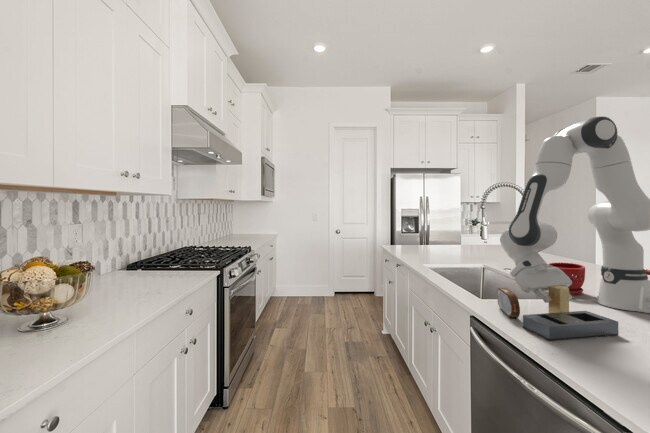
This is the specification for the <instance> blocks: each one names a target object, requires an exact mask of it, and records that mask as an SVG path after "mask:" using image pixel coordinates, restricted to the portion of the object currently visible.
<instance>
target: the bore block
mask: <svg viewBox="0 0 650 433" xmlns="http://www.w3.org/2000/svg"><path fill="white" fill-rule="evenodd" d="M522 329H525V330H527V331H528V332H531V333H533V334H534V335H537V336H539V337H541V338H543V339H545V340H547V341H548V342H554V341H555V342H556V341H564V340H577V339H578V340H579V339H590V338H591V339H592V338H603V337H605V338H606V337H616V336H619V321H617V320H616V319H615V320H614V319H611V318H608V317H605V316H603V315H600V314H597V313H593V312H591V311H588V310H578V311H577V310H576V311H569V312H560V313H549V312H547V313H532V314H522Z"/></svg>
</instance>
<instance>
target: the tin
mask: <svg viewBox="0 0 650 433" xmlns="http://www.w3.org/2000/svg"><path fill="white" fill-rule="evenodd" d="M496 296H497V297H496V298H497V304H498V307H499V309H500V311H502V312H503V313H504V314H505V315H506V316H507V317H508V318H519V317H520V314H521V307H520V306H521V305H520V302H519V299H518V296H517V295H516V293H515V292H514V291H512V290H511V289H509V288H508V287H507V286H505V287H499V288H497V290H496Z"/></svg>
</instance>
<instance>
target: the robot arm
mask: <svg viewBox="0 0 650 433" xmlns="http://www.w3.org/2000/svg"><path fill="white" fill-rule="evenodd" d="M582 153H585V154H586V155H588V157H589V165H590V168H591V174H592V177H593V181H594V185H595V188H596V189H597V191H599V192H600V193H601V194H603V195H604V196H605V197H606V199H607V201H603V202H599V203H595V204H594V205H592V206H591V207H590V208H589V210H588V212H587V218H588V221H589V222H590V223H591V224H592V225H593V226H594V227H595V229H596V231H597V234H598V236H599V239H600V241H601V247H602V248H601V250H602V265H601V268H600V271H601V272H600V273H601V274H600V275H601V276H602V278H601V279H600V282H599V288H598V295H597V296H596V299H597V300H596V302H597V303H598V304H600V305H602V306H605V307H609V308H612V309H618V310H623V311H630V312H631V311H632V312H639V313H646V314H650V279H649V276H650V269H644V268H645V266H644V264H645V263H644V259H645V258H644V256H645V255H644V253H645V252H644V251H645V250H644V247H643V246H642V244H640V242H638V241H637V240H636V238H635V235H634V234H633V232H645V231H650V197H648V195H647V194H646V193H645V191H644V190H642V188H641V186H640V184H639V183H638V181H637V178H636V175H635V171H634V168H633V163H632V158H631V156H630V152H629V150H628V147H627V145H626V143H625V141H624V139H623V138H622V137H621V136H620V135H618V127H617V125H616V124H615V122H614V121H613V120H612V119H611V118H610V117H607V116H594V117H590V118H589V119H585V120H581V121H578V122H575V123H573V124H572V125H570V126H567V127H566V128H563V129H560V130H558V131H557V132H556V133H554V135H552V136H550V137H549V136H548V137H547V138H546V139H544V140H543V142H542V143H541V146H540V148H539V150H538V152H537V156H536V159H535V162H534V168H533V171H532V174H531V177H530V178H529V179H528V181H527V183H526V185H525V188H524V190H523V194H522V197H521V200H520V203H519V206H518V209H517V211H516V214H515V216H514V218H513V220H512V221H511V222H510V224H509V226H508V229H506V230H505V231H504V232H503V233H501V235H500V238H499V243H500V245H501V247H502V248H503V251H504V252H505V253H506V255H507V256H508V257H509V258H510V259H511V260H513V262H514V265H515V267H514V268H512V270H510V272H509V274H510V276H512V278H514V279H513V280H514V281H515V282H516V284H517V286H518V287H519V288H520V289H521V291H522V292H524V293H525V294H532V293H534V294H535V295H536V296H537V297H538V298H540V299H542V301H543V302H544V303H546V304H547V303H548V304H549V302H550V301H552V299H551V298H550V297H549V295H546V293H545V292H547V291H548V292H549V287H550V286H562V287H566V288H568V287H569V286H570V285H571V284H572V281H571V279H570V278H569V277H568V276H567V275H566V274H565V273H564V272H563V271H562V270H560V269H559V268H557V267H554V266H552V265H548V264H549V263H547V261H546V260H544V258H543V257H542V256H541V255H540V254H539V252H541V251H544V250H546V249H548V248H550V247H553V245H554V244H555V243H556V241H557V238H558V232H557V230H556V229H555V227H553V225H550V224H549V223H545V222H543V221H539V219H538V216H539V213H540V211H541V207H542V204H543V201H544V198H545V196H546V195H547V193H549V192H551V191H555V190H559V189H560V188H561V187H563V186H565V184H566V183H567V182H568V180H569V177H570V174H571V170H572V165H573V158H574V156H575V155H576V154H578V155H579V154H582ZM571 299H573V296H572V295H570V293H569V301H570V300H571Z"/></svg>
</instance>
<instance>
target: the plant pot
mask: <svg viewBox="0 0 650 433" xmlns="http://www.w3.org/2000/svg"><path fill="white" fill-rule="evenodd" d="M547 264H548V265H552V266H554V267H557V268H559V269H560V270H562V271H563V272H564V273H565V274H566V275H567V276H568V277H569V278H570V279H571V281H572V284H571V285H570V286H569V287H568V288H569V293H570V295H571V296H572V295H573V296H574V295H575V296H576V295H580V294H582V293H583V292H584V289H583V285H584V283H585V280H586V279H585V278H586V266H584V265H582V264H579V263H572V262H550V263H547Z"/></svg>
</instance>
